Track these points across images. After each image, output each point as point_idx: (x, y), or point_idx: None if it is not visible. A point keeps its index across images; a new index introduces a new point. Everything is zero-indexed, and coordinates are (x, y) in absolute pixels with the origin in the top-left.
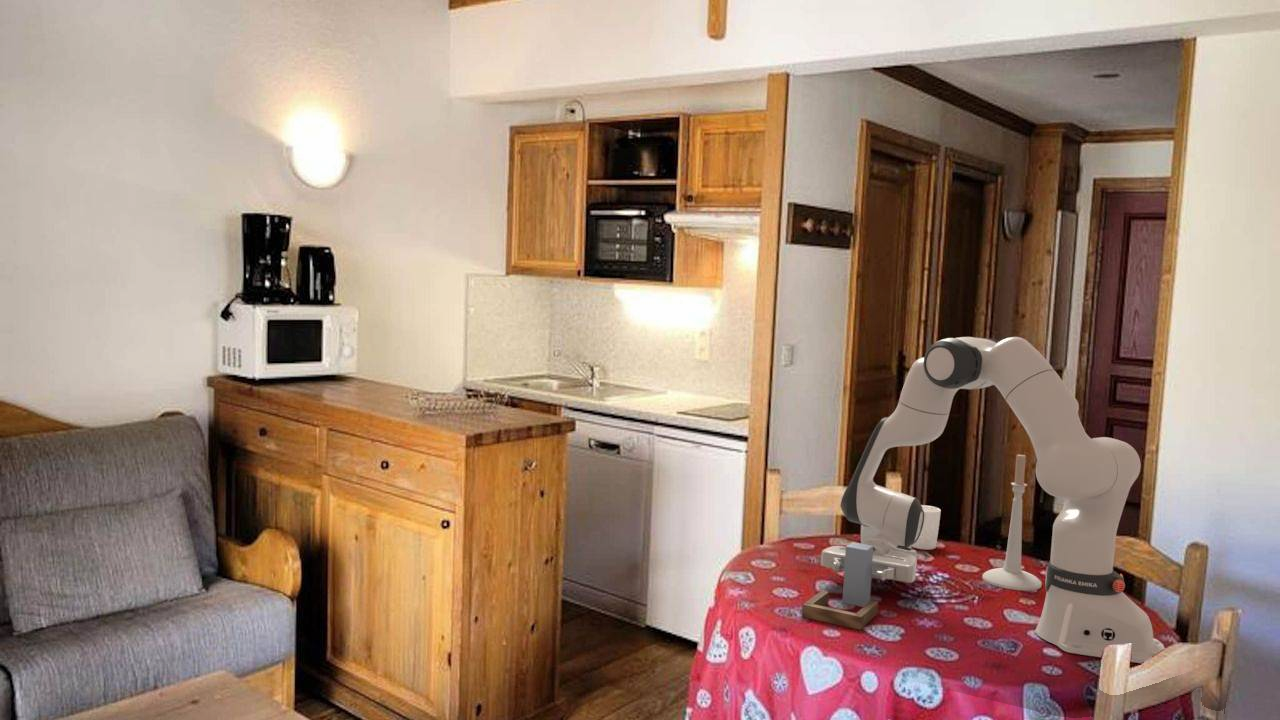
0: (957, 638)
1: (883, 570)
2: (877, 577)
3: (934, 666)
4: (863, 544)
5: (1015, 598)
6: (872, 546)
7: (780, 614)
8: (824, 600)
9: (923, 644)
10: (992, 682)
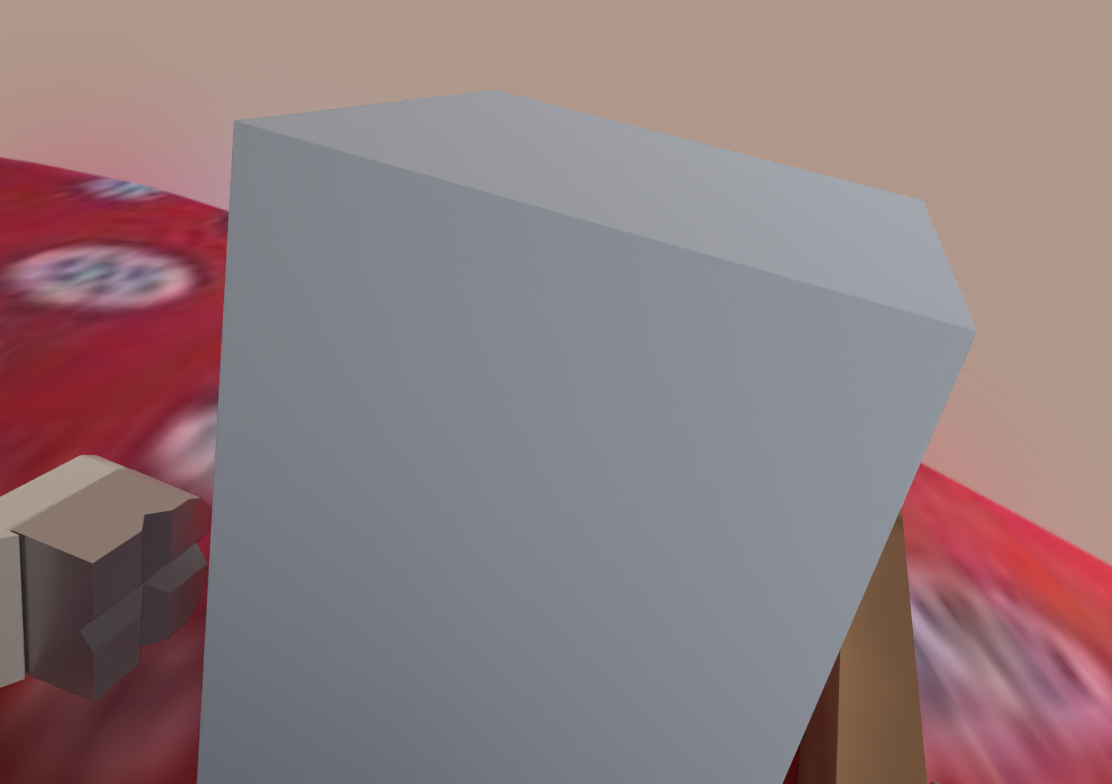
0: None
1: (29, 518)
2: (193, 564)
3: (219, 236)
4: (558, 193)
5: None
6: (296, 115)
7: (1011, 607)
8: (817, 744)
9: (147, 325)
10: (53, 174)
